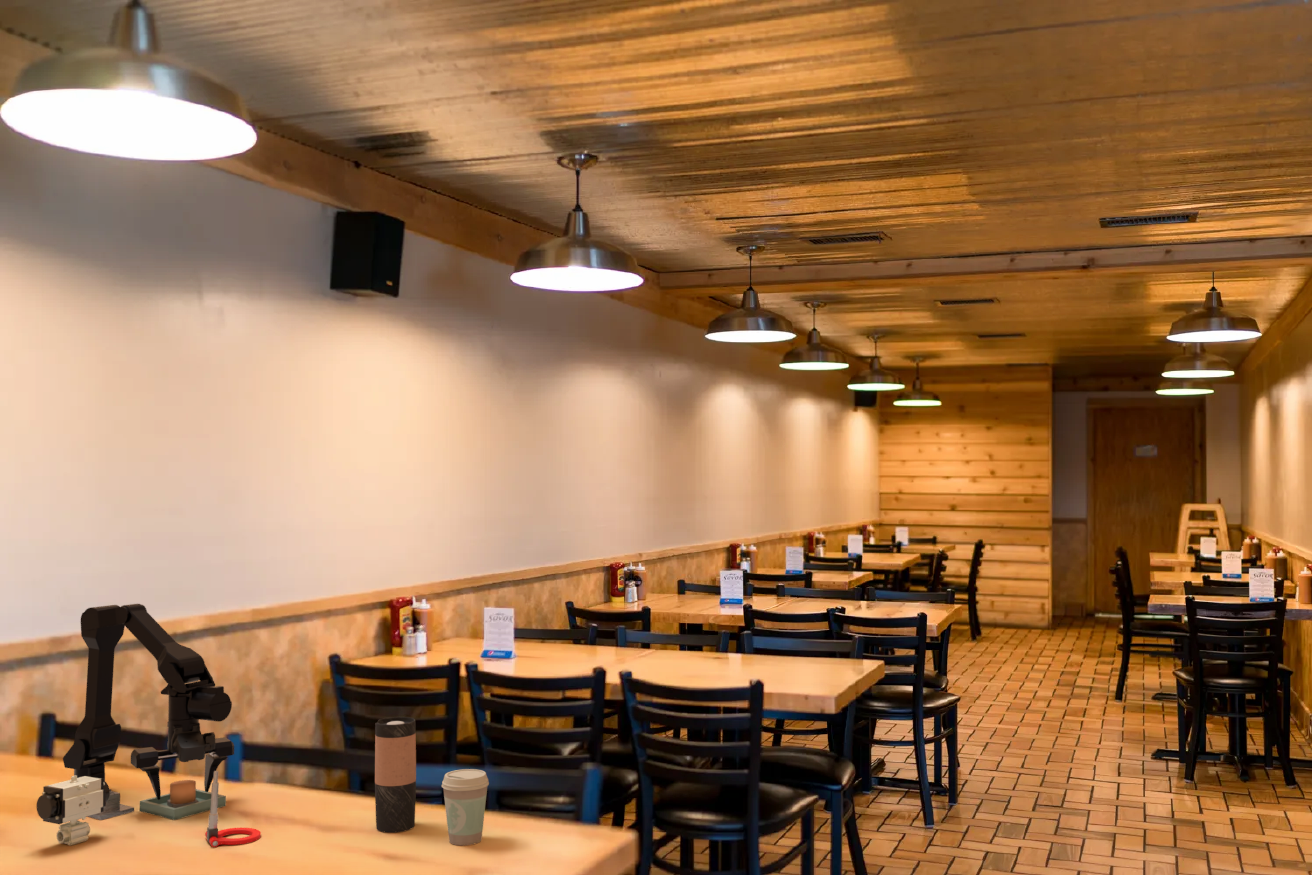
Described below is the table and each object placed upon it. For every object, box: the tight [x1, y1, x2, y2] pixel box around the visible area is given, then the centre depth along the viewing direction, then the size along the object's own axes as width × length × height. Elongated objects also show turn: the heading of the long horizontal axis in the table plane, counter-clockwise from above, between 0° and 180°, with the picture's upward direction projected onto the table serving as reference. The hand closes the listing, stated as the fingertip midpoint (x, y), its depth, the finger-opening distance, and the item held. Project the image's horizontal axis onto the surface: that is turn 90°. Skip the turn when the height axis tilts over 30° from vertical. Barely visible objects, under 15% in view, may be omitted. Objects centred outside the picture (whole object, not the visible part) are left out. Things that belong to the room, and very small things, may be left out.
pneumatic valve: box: [35, 775, 110, 847], centre depth 210 cm, size 6×12×12 cm, turn 152°
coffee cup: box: [441, 768, 490, 846], centre depth 209 cm, size 9×9×12 cm
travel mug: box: [374, 716, 417, 834], centre depth 218 cm, size 8×8×20 cm
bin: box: [139, 788, 227, 821], centre depth 231 cm, size 12×12×2 cm
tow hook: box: [204, 770, 262, 848], centre depth 211 cm, size 8×13×9 cm
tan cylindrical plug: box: [167, 779, 199, 808], centre depth 231 cm, size 5×5×4 cm
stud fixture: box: [87, 790, 135, 821], centre depth 228 cm, size 7×7×4 cm
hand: (182, 795), depth 231 cm, fingers open, 9 cm apart
